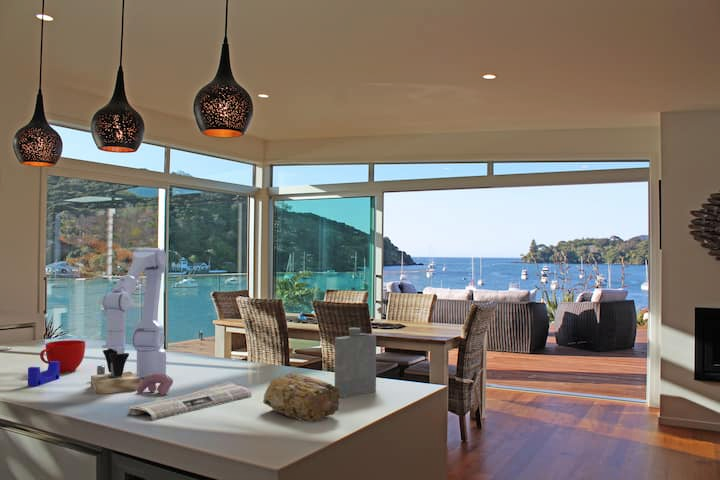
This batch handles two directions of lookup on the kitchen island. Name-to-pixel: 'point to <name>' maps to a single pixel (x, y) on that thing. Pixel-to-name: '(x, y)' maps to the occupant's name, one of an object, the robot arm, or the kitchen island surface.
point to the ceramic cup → (65, 354)
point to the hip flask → (355, 363)
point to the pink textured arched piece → (151, 383)
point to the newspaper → (192, 401)
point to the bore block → (114, 383)
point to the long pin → (113, 372)
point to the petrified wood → (302, 397)
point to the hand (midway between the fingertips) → (115, 373)
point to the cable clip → (44, 374)
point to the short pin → (100, 370)
